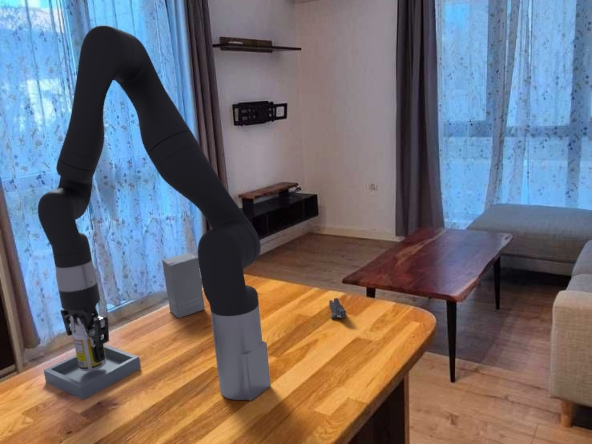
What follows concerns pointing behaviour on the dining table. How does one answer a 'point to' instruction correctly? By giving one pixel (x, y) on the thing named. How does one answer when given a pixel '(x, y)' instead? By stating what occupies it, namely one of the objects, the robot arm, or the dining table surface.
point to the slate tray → (92, 373)
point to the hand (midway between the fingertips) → (91, 357)
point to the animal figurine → (337, 309)
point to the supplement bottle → (85, 351)
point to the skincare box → (183, 284)
